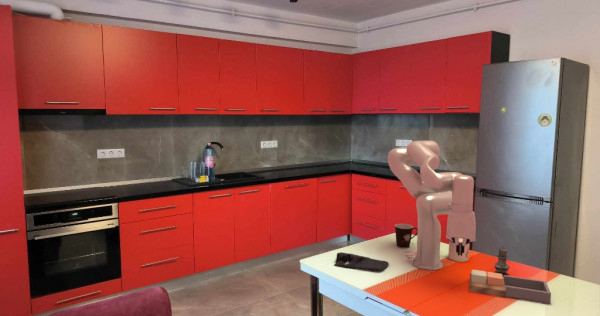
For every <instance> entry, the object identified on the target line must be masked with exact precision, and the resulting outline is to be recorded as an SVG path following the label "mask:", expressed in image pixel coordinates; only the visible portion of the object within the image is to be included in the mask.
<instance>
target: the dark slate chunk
mask: <svg viewBox="0 0 600 316" xmlns="http://www.w3.org/2000/svg"><path fill="white" fill-rule="evenodd" d="M333 265H334V266H335V267H342V268H345V269H353V270H355V269H357V270H363V271H369V272H381V271H382V270H384V269H385V268H387V267H388V266H389V265H390V264H389V262H388V261H386V260H379V259H375V258H372V257H371V258H370V257H368V256H362V255H359V254H355V253H347V252H337V253H336V259H335V263H334V264H333Z"/></svg>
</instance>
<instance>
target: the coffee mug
mask: <svg viewBox="0 0 600 316" xmlns="http://www.w3.org/2000/svg"><path fill="white" fill-rule="evenodd" d="M413 230H416V233H415V234H414V235H412V234H413ZM394 231H395V242H396V247H397V248H399V249H400V248H401V249H408V248H410V246H411V242H412V239H414V238H415V237H416V236H417V235H418V227H414V226H413V225H412V224H407V223H396V224H394Z"/></svg>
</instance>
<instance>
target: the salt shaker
mask: <svg viewBox="0 0 600 316" xmlns="http://www.w3.org/2000/svg"><path fill="white" fill-rule="evenodd" d="M507 254H508V249H506V248H505V246H504V245H503V246H502V247H500V248H498V255H497V262H494V264H493V266H494V268H495V271H494V272H493V273H499V274H502V277H503V278H504V275H507V276H509V273H507V272H508V271H509V270H510V268H511V267H510V265H509V264H507V259H508V256H507Z"/></svg>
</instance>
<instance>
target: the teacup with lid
mask: <svg viewBox="0 0 600 316" xmlns="http://www.w3.org/2000/svg"><path fill="white" fill-rule="evenodd" d="M462 241H463V239H462V238H459V242H460V247H461V243H462ZM470 243H471V242H469V243H467V244H466V245H465V247H464V253H462V256H461V255H459V256H458V253H457V252H456V244H455V243H454V242H453V241H452V240H450V239H448V258H449V259H450V260H452V261H454V262H459V263H460V262H463V263H464V262H467V261H469V259H470V245H471V244H470Z"/></svg>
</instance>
